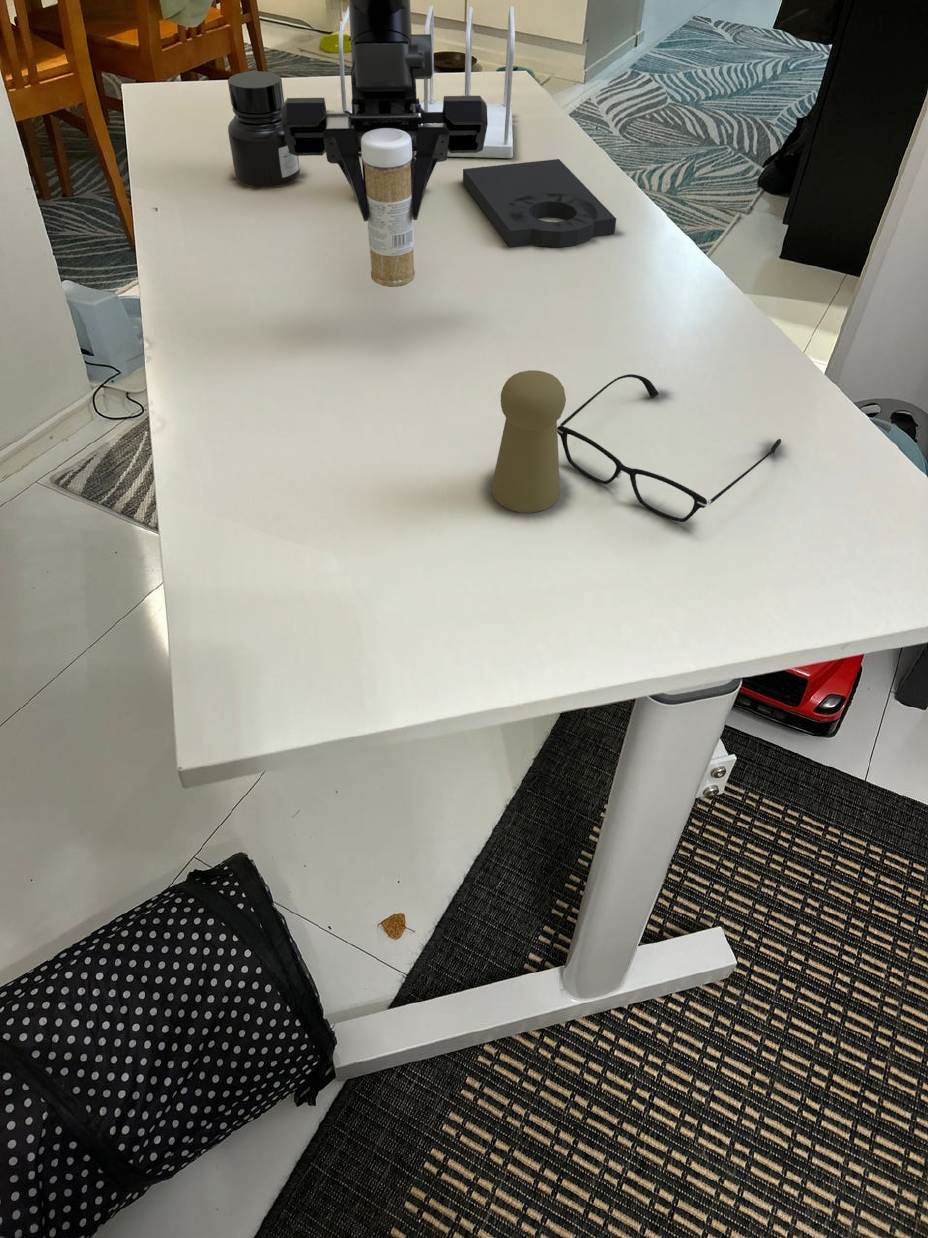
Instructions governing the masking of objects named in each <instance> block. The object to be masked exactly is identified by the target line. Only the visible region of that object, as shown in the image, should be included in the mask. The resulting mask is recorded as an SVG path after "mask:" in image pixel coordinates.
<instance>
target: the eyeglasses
mask: <svg viewBox="0 0 928 1238" xmlns="http://www.w3.org/2000/svg"><path fill="white" fill-rule="evenodd" d="M626 378H633V379H638V380H639V381H640V382H641V383H642V384H643V385H644V387H645V389H646V391H647V393H648V395H649V397H650V398H652V397H657V396H659V395H660V393H659V392H658V389H656V387H655V385H654V384H653V383H652V381H650V380H649V379H648V378H646V377H644V376H642V375H638V374H632V373H630V374H624V375H621V376H618V377H617V378H614V379H613V380H611V381H610V382H609V383H607V384H606V385H604V386H603V387H602V388H601V389H600V390H599V391H597V392H596V393H595V394H593V396H591V397H590V398H589V399H587V400H586V402H584V403H583V404H582V405H581V406H579V407H578V408H577V409H576V410H574V412H573V413H571V414H570V415H569V416H568V417H567V418H565V419H564V420H563V421H562V422H561V423H560V424H558V425H557V435H558V436H559V437H560V440H561V443H562V447H563V450H564V454H565V457H566V460H567V461H568V463H569V465H571V466H572V467H573V468H574V469H575V470H576V471H578V472H579V473H581V474H583V475H584V476H586V477H587V478H588V479H590V480H593V481H594V482H596V483H599V484H602V485H608V484H610V483H611V482H613V481H614V480H615V479H620V478H621V477H622V475H621V474H622V473H626V474H627V475H629V480H630V483H631V487H632V489H633V492H634V495H635V497H636V499H637V501H638V502H639V504H641V505H642V506H643V507H645V508H646V509H648V510H650V511H651V512H653V513H655V514H657V515H658V516H661V517H663V518H666V519H669V520H671V521H675V522H678V523H685V522H687V521H688V520H689V519H690V518H692V517H693V516H694V515H695V514H696V512H697V511H698V510H699V509H705V508H706V507H708V506H710V505H711V504H713V503H714V502H715V501H716V500H718V499H719V498H720V497H721V496H723V494H725V493H726V492H727V491H728V490H730V489H731V488H732V487H733V486H734V485H736V484H737V483H738V482H739V481H740V480H741V479H743V478H744V477H745V476H746V475H748V474H749V473H750V472H751V471H752V470H754V469H755V468H756V467H757V466H759V464H761V463H762V462H763V461H764V460H765V459H766V458H768V457H769V456H770V455H772V454H775V452H776V450H777V448H778V447H780V446H781V443H782V439H781V438H778V439H777V440H775V442H774V443H773V445H772V446H771V448H770V451H769V452H767V454H765V455H764V456H763V457H762V458H760V460H758V461H757V462H756V463H755V464H753V465H752V466H751V467H750V468H748V469H747V470H746V471H745V472H743V473H742V474H740V475H739V476H738V477H737V478H736V479H735V480H733V481H732V482H731V483H729V484H728V485H727V486H725V488H723V489H722V490H720V492H718V493H717V494H716V495H715V496H713V497H711V499H708V500H707V498H705V497H704V496H702V495H701V494H699V493H697V492H696V491H694V490H692V489H691V488H688V487H687V486H685V485H683V484H680V483H679V482H676V481H674V480H672V479H670V478H667V477H665V476H663V475H661V474H657V473H654V472H650V471H648V470H644V469H639V468H634V467H633V468H632V467H629V466H626V465H625V464H623V462H622V461H621V460H620V459H619V458H618V457H616V456H615V455H614V454H612V452H610V451H608V450H607V449H606V448H604V447H603V446H601V445H600V444H598V443H597V442H595V441H594V440H593V439H592V438H591V439H590V438H589V437H587V436H586V435H584V434H581V433H579V432H577V431H575V430H573V429H571V428H569V427H566V426H565V425H566V424H568V422H570V421H571V420H572V419H573V418H574V417H575V416H577V415H578V414H579V413H580V412H581V411H582V410H583V409H584V408H585V407H586V406H588V405H589V404H590V403H591V402H592V401H593V400H594V399H595V398H597V397H598V396H599V395H600V394H601V393H602V392H603V391H605V390H606V389H607V388H609V387H610V386H611V385H612V384H614V383H615V382H617V381H619V380H622V379H626ZM568 435H570V436H573V437H575V438H577V439H579V440H581V441H582V442H585V443H587V444H588V445H590V446H592V447H594V448H595V449H596V450H598V451H599V452H601V453H602V454H603V455H604V456H605V457H607V458H608V459H610V460H611V461H612V462H613V463H614V464H615V470H614V473H613V474H612V476H611V477H610V478H608V479H607V480H603V479H601V478H597V477H596V476H594V475H592V474H591V473H589V472H587V471H586V470H584V469H583V468H581V467H580V466H578V464H576V463H575V462H574V460H573V458H572V457H571V454H570V453H571V452H570V450H569V445H568ZM637 475H640V476H645V477H649V478H651V479H654V480H657V481H660V482H663V483H664V484H667V485H669V486H672V487H674V488H675V489H678V490H679V491H682V492H683V493H685V494H686V495H688V496H689V497H691V498H692V499H693V506H692V509H691V511H690V512H689V513H688V514H687V515H686V516H684V517H683V518H681V517H677V516H674V515H671V514H668V513H666V512H663V511H660V510H659V509H656V508H655V507H653V506H651V505H650V504H648V503H646V502H645V501H644V499H643V497H642V496H641V494H640V491H639V489H638V484H637V478H636V477H637Z"/></svg>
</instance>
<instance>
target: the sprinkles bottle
mask: <svg viewBox="0 0 928 1238" xmlns="http://www.w3.org/2000/svg"><path fill="white" fill-rule="evenodd" d="M361 151H362V154H361V160H362V159H363V163H364V166H365V180H366V199H367V210H368V221H367V232H368V244H369V245H368V246H369V250H370V251H369V254H370V267H371V268H370V269H371V270H370V278H371V280H372V281H373V282H374V283H376V284H377V285H379V286H382V287H388V288H399V287H403V286H406V285H408V284H409V283H412V282H413V281H414V279H415V278H416V270H415V264H414V262H415V261H414V256H415V255H414V247H415V237H414V236H415V235H414V234H415V233H414V220H413V206H412V199H413V197H412V191H411V168H410V164H411V158H412V142H411V137H410V135H409V134H408V133H407V132H405V131H402V130H399V129H393V128H380V129H375V130H371V131H368V132H367V133H365V134H364V135H363V136H362V138H361Z"/></svg>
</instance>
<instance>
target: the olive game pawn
mask: <svg viewBox="0 0 928 1238" xmlns="http://www.w3.org/2000/svg"><path fill="white" fill-rule="evenodd" d="M566 402H567V397H566V391H565V387H564V385H563V384H562V382H561V381H560V380H559V378H557V377H556V376H555V375H553V374H552V373H549V372H546V371H541V370H531V369H530V370H529V369H528V370H524V371H523V370H522V371H519V372H517V373H515V374H512V376H510V377H508V379H507V380H506V381H505V382H504V384H503V387H502V388H501V391H500V407H501V411H502V414H503V415H504V418H505V421H504V426H503V429H502V435H501V438H500V439H501V440H500V445H499V448H498V454H497V459H496V463H495V468H494V474H493V478H492V483H491V495H492V497H493V498H494V500H495V502H496V503H498V504H499V505H500V506H501V507H503V508H505V509H508V510H509V511H512V512H517V513H522V514H523V513H524V514H527V513H528V514H534V513H538V512H543V511H546V510H548V509H550V508H552V507H553V506H554V505H555V504H556V503H557V502H558V501H559V498H560V497H561V481H560V478H561V477H560V459H559V457H560V456H559V437H558V436H559V434H558V432H557V427H558V420H559V419H561V416H562V415H563V412H564V410H565V407H566Z"/></svg>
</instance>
